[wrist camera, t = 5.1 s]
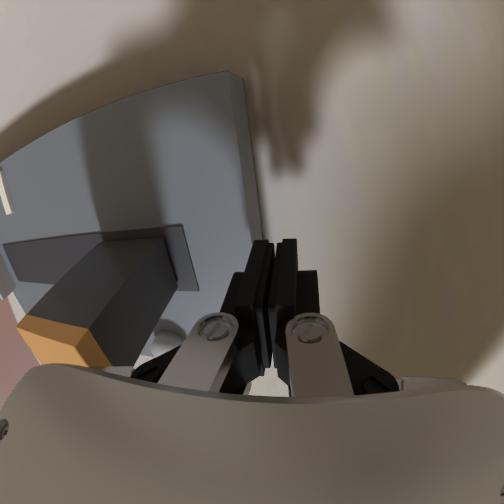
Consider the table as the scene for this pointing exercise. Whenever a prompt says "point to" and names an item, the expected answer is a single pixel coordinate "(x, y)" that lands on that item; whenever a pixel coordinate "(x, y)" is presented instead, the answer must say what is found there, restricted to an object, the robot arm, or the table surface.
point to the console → (138, 196)
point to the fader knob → (103, 306)
